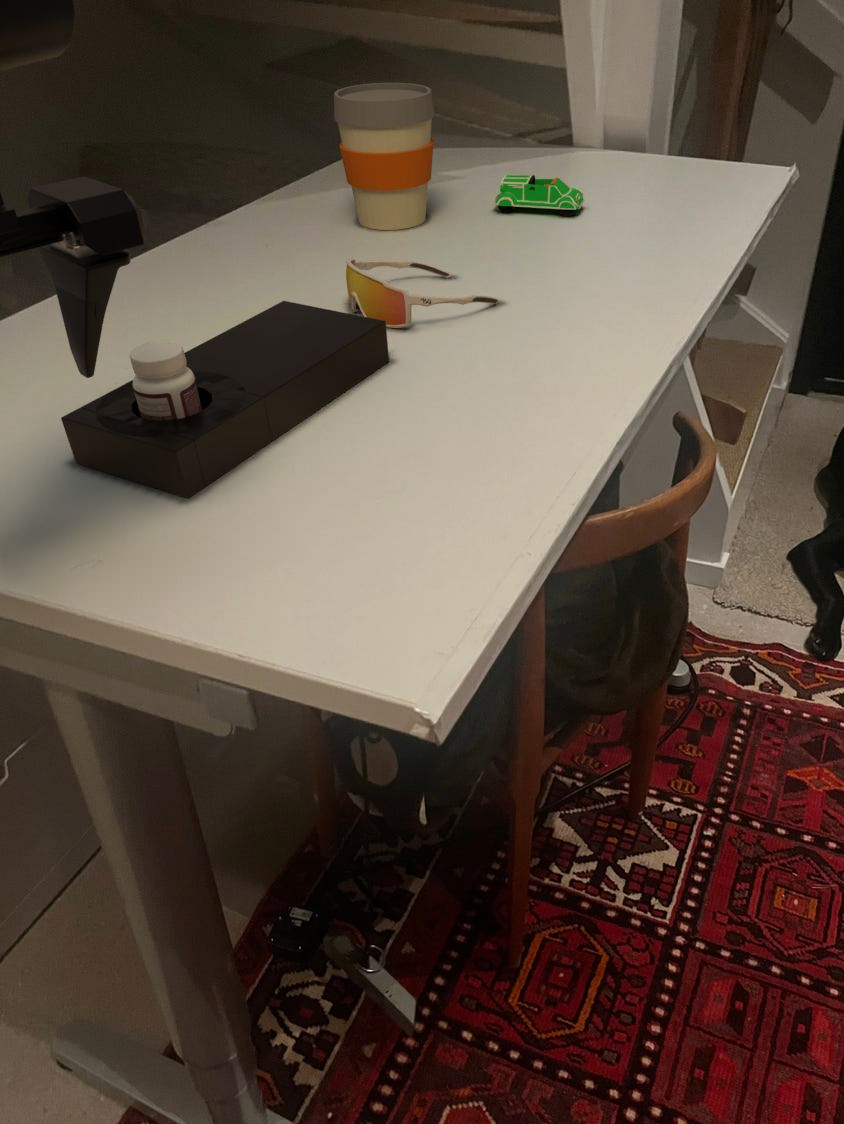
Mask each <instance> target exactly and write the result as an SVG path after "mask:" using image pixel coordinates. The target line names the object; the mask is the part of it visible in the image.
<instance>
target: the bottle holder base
mask: <svg viewBox="0 0 844 1124" xmlns="http://www.w3.org/2000/svg"><path fill="white" fill-rule="evenodd" d="M184 354H185V357H186V364H187V365H186V367H188V368H189V369H190V370H191V371H192V372H193V374H194V377H195V380H196V385H197V390H198V394H199V398H200V403H201V407H202V411H200V412H199V413H197V414H194V415H191V416H188V417H185V418H181V419H174V420H167V421H158V420H147V419H143V418H142V417H141V413H140V410H139V406H138V403H137V400H136V396H135V392H134V389H133V379H131V380H130V381H128V382H126V383H124V384H122V385H120V386H119V387H117V388H114V389H113V390H110V391H109V392H107V393H105V394H103V395H102V396H99V397H98V398H95V399H94V400H92V401H90V402H88V403H86V404H84V405H82V406H80V407H79V408H76V409H74V410H73V411H71V412H69V413H66V414H65V415H63V416H61V417H60V420H61V422H62V425H63V429H64V432H65V435H66V438H67V441H68V444H69V447H70V450H71V452H72V456H73V458H74V461H75V463H76V464H79V465H82V466H85V467H88V468H91V469H94V470H98V471H101V472H104V473H107V474H109V475H113V476H117V477H119V478H123V479H125V480H129V481H132V482H135V483H139V484H142V485H144V486H148V487H151V488H154V489H157V490H160V491H163V492H168V493H170V494H173V495H175V496H176V495H177V496H179V497H183V498H185V499H189V498H191V497H193V496H194V495H195V494H197V493H198V492H200V491H201V490H203V489H204V488H205V487H207V486H209V485H210V484H212V483H213V482H214V481H216V480H217V479H219V478H220V477H222V476H224V474H226V473H228V472H229V471H231V470H232V469H233V468H235V467H236V466H238V465H240V464H241V463H243V462H244V461H246V460H247V459H249V458H250V457H252V456H253V455H254V454H256V453H257V452H259V451H260V450H261V449H263V448H264V447H266V446H268V445H270V444H271V442H273V441H274V440H276V439H277V438H279V437H280V436H282V435H284V434H285V433H287V432H288V431H289V430H291V429H292V428H294V427H295V426H297V425H298V424H300V423H302V422H303V421H304V420H306V419H307V418H308V417H310V416H311V415H313V414H314V413H316V412H317V411H319V410H320V409H322V408H323V407H325V406H327V405H328V404H329V403H331V402H332V401H333V400H335V399H337V398H338V397H339V396H341V395H343V394H344V393H345V392H347V391H348V390H350V389H352V388H353V387H354V386H355V385H357V384H358V383H360V382H361V381H363V380H364V379H365V378H368V377H369V376H371V375H372V374H373V373H375V372H377V370H379V369H381V368H382V367H383V366H385V365H386V364H388V363H389V362H390V358H389V357H390V355H389V343H388V331H387V327H386V321H383V320H378V319H373V318H368V317H364V315H358V314H352V313H347V312H342V311H339V310H337V311H336V310H333V309H327V308H322V307H319V306H312V305H307V304H303V303H297V302H293V301H287V300H282V301H280V302H278V303H276V304H274V305H273V306H271V307H269V308H267V309H264V310H263V311H260V312H259V313H257V314H256V315H254V316H252V317H250V318H248V319H246V320H244V321H241V322H240V323H238V324H236V325H235V326H233V327H231V328H229V329H227V330H225V331H223V332H221V333H219V334H217V335H216V336H213V337H212V338H210V339H207V340H206V341H204V342H202V343H201V344H198V345H196V346H195V347H193V348H191V349H188V350H187V351H184Z"/></svg>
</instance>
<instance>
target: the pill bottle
mask: <svg viewBox="0 0 844 1124" xmlns="http://www.w3.org/2000/svg"><path fill="white" fill-rule="evenodd" d="M184 353H185V350H184V347H183V345H182V344H181V343H179V342H177V341H173V340H155V341H149V342H145V343H142V344H140V345H138V346H136V347H134V348H133V349H132V350H131V351H130V352H129V359H130V363H131V366H132V370H133V373H134V374H135V375H134V377H133V379H132V380H133V389H134V392H135V396H136V400H137V403H138V406H139V410H140V413H141V417H142V418H143V419H147V420H158V421H167V420H174V419H181V418H185V417H188V416H191V415H194V414H197V413H199V412H200V411H202V407H201V403H200V398H199V394H198V390H197V385H196V380H195V377H194V374H193V372H192V371H191V370H190V369H189V368H188V367H186V365H187V364H186V357H185V354H184Z"/></svg>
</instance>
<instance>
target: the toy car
mask: <svg viewBox="0 0 844 1124" xmlns="http://www.w3.org/2000/svg"><path fill="white" fill-rule="evenodd" d="M491 202H492V204H494V205H495V206H497V208H498V209H499V211H500V212H501V213H503V214H509V213H511V212H512V211H513V209H514V208H515V207H517V208H535V209H551V210H553V209H554V210H558V212H559V213H560V215H561V216H562V217H566V218H569V217H571V216H572V215H573V214H574V213H575V211H576V210H580V209H581V208H582V206H583V205H584V203H585V199H584V193H583V192H582V191H581V190H580V189H579V188H578V189H577V188H575V187H570V186H569V185H567V184H566V183H565V182H564V181H563V180H562V179H561V178H559V177H555V178H536V175H535V174H533V175H529V174H525V175H524V174H505V175H504V176H503V177H502V179H501V183H500V187H499V192H497V194H496V196H495V197H494V198H493V199H492V201H491Z"/></svg>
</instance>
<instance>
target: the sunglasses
mask: <svg viewBox="0 0 844 1124" xmlns="http://www.w3.org/2000/svg"><path fill="white" fill-rule="evenodd" d="M345 264H346V269H345V274H346V275H345V279H346V290H347V294H348V298H349V301H350V306H351V310H352V311H353V313H356V312H358V311H359V310H360V312H361V314H362V316H363V317H368V318H373V319H378V320H383V321H386V328H390V329H391V328H392V329H393V328H394V329H400V328H401V329H402V328H408V327H409V326H411V325H412V307H413V306H421V307H431V306H434V305H441V304H455V305H468V304H473V303H481V304H491V305H497V304H498V302H499V301H500V300H499V298H497V297H493V296H488V295H477V294H476V295H475V294H473V295H467V296H436V295H435V296H433V295H425V294H424V295H423V294H413V293H410V292H409V291H408V290H407V289H403V288H400V287H397V286H393V285H391V284H389V283H388V281H386V280H383V279H381V278H379V277H376V276H374V275H372V274H369V273H368V272H366V271H370V270H372V269H374V268H378V267H390V268H395V269H406V268H407V269H417V270H422V271H425V272H429V273H432V274H435V275H437V276H440V277H444V278H446V279H447V278H448V279H449V278H452V276H453V273H451V272H449V271H447V270H444V269H442V268H439V267H436V266H435V265H430V264H427V263H424V262H419V261H414V260H374V259H373V260H370V259H369V260H356V259H355V258H346V260H345Z"/></svg>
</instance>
